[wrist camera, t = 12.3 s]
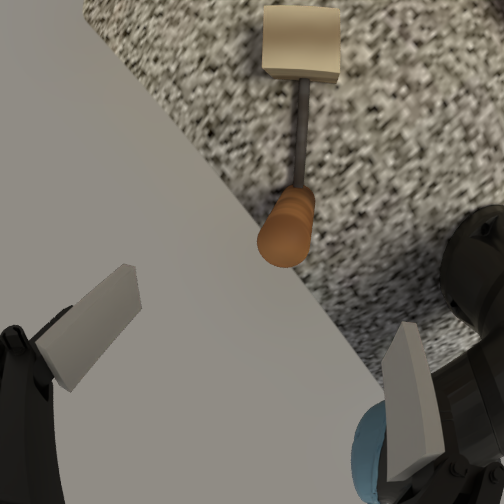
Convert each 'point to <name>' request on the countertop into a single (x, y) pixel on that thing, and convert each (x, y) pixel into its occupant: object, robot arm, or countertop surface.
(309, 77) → the corded block
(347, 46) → the countertop surface
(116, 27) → the countertop surface
